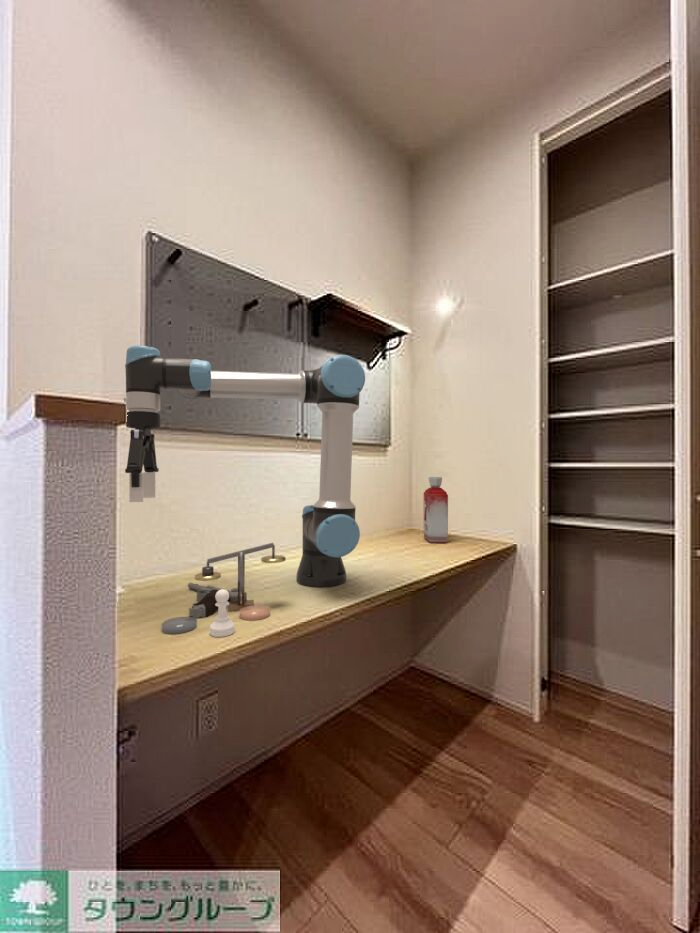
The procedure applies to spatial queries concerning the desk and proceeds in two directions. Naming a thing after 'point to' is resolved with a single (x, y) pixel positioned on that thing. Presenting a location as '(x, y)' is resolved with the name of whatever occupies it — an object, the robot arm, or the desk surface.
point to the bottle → (435, 512)
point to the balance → (211, 575)
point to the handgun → (208, 600)
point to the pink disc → (254, 612)
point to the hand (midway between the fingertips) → (143, 499)
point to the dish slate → (179, 625)
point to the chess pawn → (222, 617)
